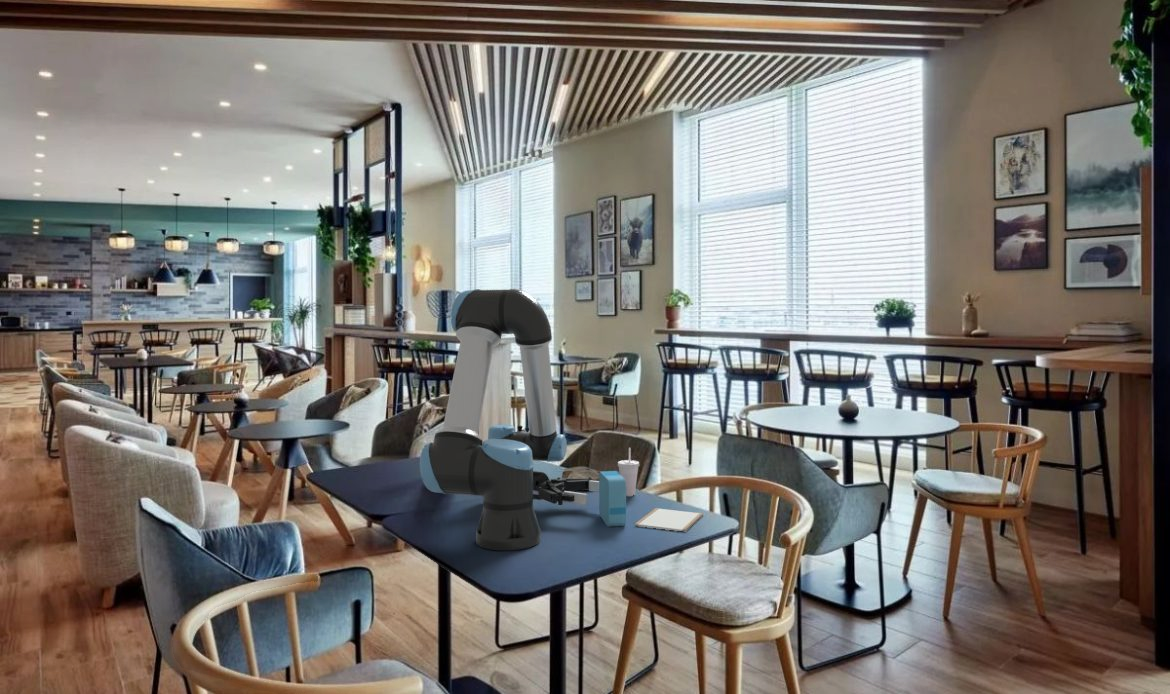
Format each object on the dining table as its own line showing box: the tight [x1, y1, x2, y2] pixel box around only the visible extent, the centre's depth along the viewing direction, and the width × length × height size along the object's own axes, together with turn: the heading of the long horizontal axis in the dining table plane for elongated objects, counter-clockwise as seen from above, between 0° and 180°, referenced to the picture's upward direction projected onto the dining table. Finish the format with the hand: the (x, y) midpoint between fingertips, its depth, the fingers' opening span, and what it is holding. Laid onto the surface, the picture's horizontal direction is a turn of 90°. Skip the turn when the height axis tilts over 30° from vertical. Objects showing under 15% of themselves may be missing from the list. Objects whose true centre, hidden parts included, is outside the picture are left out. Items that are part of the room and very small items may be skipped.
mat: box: [634, 507, 704, 532], centre depth 185 cm, size 16×13×1 cm
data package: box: [598, 470, 627, 528], centre depth 185 cm, size 12×4×12 cm, turn 10°
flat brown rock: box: [560, 466, 601, 481], centre depth 228 cm, size 14×5×20 cm
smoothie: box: [617, 447, 640, 497], centre depth 212 cm, size 6×6×14 cm
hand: (599, 493), depth 188 cm, fingers open, 13 cm apart
